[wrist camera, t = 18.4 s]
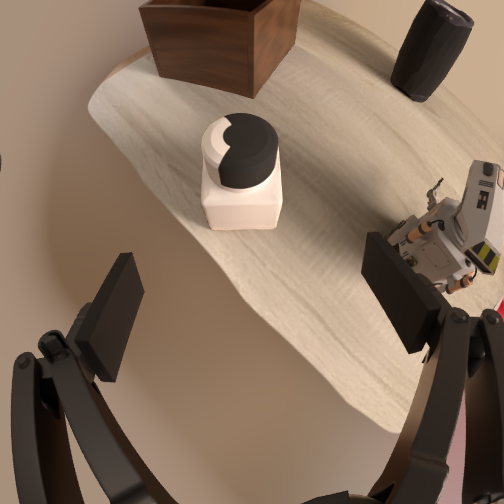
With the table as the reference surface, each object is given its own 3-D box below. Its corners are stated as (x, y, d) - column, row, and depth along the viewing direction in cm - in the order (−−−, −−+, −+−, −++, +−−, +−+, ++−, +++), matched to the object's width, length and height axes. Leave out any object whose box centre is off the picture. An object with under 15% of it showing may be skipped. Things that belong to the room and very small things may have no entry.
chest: (253, 99, 36) (254, 15, 22) (159, 76, 38) (138, 7, 24) (294, 43, 40) (303, -21, 26) (213, 26, 42) (207, -32, 28)
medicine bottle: (273, 173, 33) (282, 103, 21) (276, 230, 31) (290, 174, 19) (212, 174, 33) (196, 105, 21) (210, 231, 31) (188, 177, 19)
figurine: (460, 247, 31) (537, 207, 16) (417, 309, 29) (510, 290, 14) (419, 196, 32) (486, 135, 18) (369, 251, 31) (446, 196, 16)
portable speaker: (432, 89, 38) (476, 19, 20) (423, 113, 37) (477, 32, 18) (395, 64, 40) (429, -11, 21) (381, 84, 38) (421, -4, 19)
